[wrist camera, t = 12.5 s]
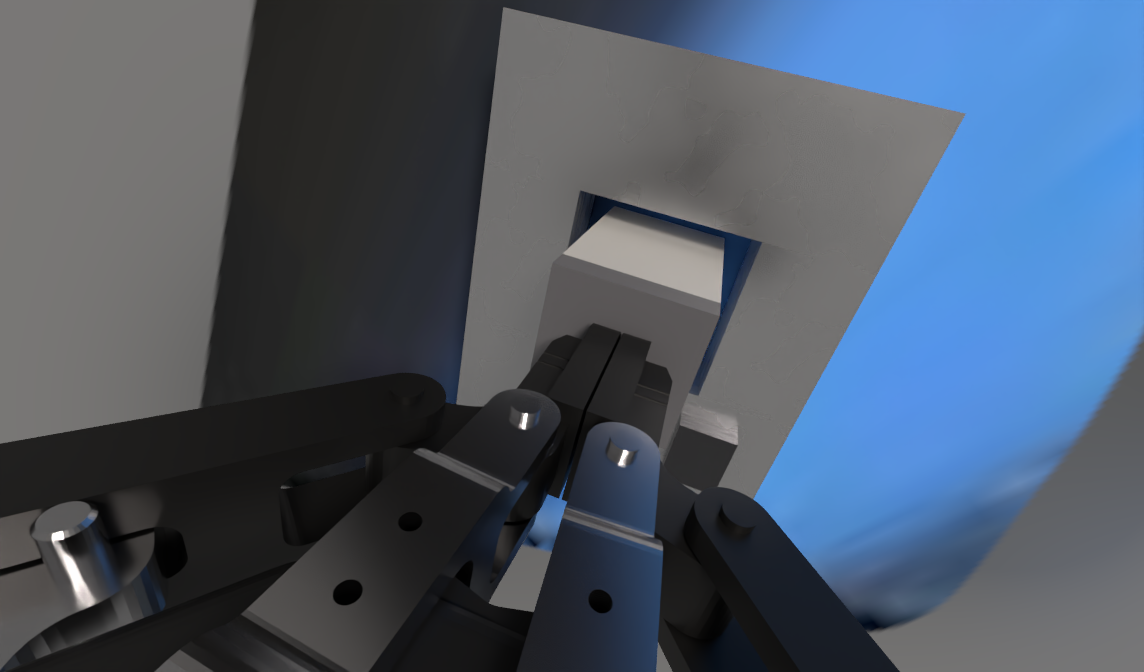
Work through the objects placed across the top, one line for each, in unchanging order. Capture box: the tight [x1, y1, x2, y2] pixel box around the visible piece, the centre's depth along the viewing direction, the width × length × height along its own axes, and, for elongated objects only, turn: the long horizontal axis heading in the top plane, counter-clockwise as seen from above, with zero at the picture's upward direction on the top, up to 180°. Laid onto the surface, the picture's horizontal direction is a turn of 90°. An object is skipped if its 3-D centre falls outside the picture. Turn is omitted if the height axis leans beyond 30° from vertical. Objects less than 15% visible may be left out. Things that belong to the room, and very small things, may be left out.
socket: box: [456, 7, 965, 499], centre depth 17 cm, size 14×12×3 cm
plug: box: [530, 206, 725, 450], centre depth 15 cm, size 4×4×7 cm
